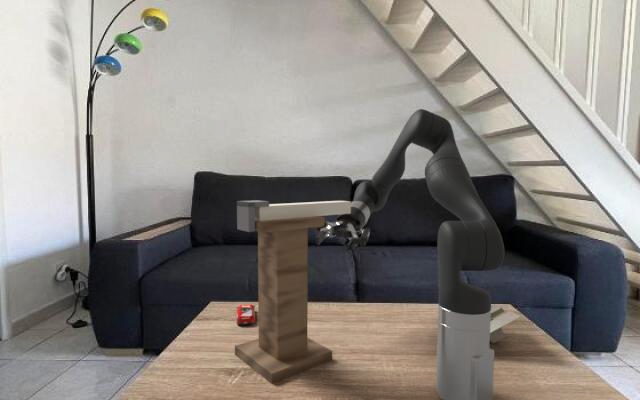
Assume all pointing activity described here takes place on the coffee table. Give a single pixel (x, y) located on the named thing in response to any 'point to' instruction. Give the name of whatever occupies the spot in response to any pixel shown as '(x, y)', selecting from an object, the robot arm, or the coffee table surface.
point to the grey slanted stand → (499, 322)
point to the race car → (245, 314)
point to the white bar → (285, 211)
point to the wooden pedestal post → (283, 302)
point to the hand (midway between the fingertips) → (332, 245)
